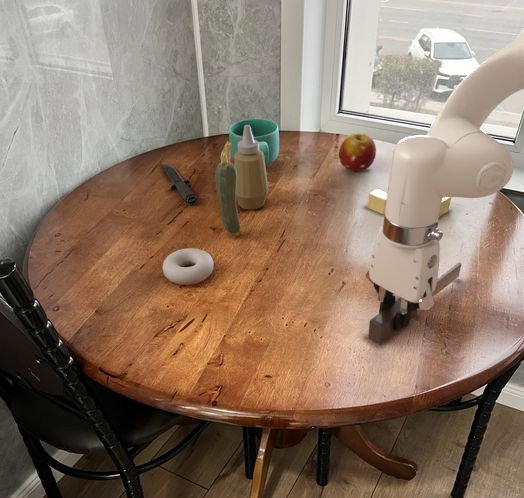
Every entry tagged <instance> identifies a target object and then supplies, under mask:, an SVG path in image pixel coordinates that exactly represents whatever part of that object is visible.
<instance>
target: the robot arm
mask: <svg viewBox="0 0 524 498" xmlns="http://www.w3.org/2000/svg"><path fill="white" fill-rule="evenodd" d="M522 90H524V27H523V28H522V29H521V31H520V32H519V33H518V34H517V36H516V37H515V38H514V39H513V40H512V41H510V42H509V43H507V45H505V46H504V47H503V48H500V49H499V50H498V51H496V52H495V53H493V54H492V55H491V56H489V57H488V58H487V59H485V60H484V61H483V62H482V63H480V64H479V65H478V66H477V67H475V68H474V69H473V70H471V71H470V73H468V74H467V75H466V76H465V77H464V78H463V79H462V80H461V81H460V82H459V83H458V84H457V85H456V87H455V88H454V89H453V91H452V92H451V94H450V95H449V96H448V98H447V99H446V101H445V103H444V104H443V105H442V107H441V108H440V110H439V111H438V113H437V115H436V117H434V119H433V121H432V123H431V125H430V127H429V129H428V131H427V134H426V135H413V136H408V137H407V136H406V137H405V138H403V139H401V140H399V141H398V142H397V143H396V145H395V146H394V148H393V151H392V154H391V163H390V169H389V178H388V186H387V191H386V193H387V200H386V208H385V214H383V224H382V225H381V226H380V228H379V230H378V232H377V234H376V238H375V240H374V244H373V246H372V251H371V256H370V262H369V268H368V270H367V272H366V274H365V278H366V279H367V280H368V281H369V283H370V284H371V285H373V289H374V290H375V291H376V294H377V300H378V301H379V309H378V314H379V313H380V312H382V311H383V310H384V309H386V308H387V307H388V306H390V305H391V304H392V303H394V302H395V301H396V300H397V299H396V297H397V296H398V297H399V298H400V297H401V304H400V310H398V311H397V312H396V318H395V324H394V330H395V331H396V332H399V331H401V330H402V329H403V328H406V327H407V326H409V324H410V322H411V320H410V317H411V312H412V311H414V310H416V309H417V310H420V311H430V310H431V309H432V308H433V307H435V302H434V296H433V297H432V293H433V292H434V291H435V288H436V284H437V279H438V278H439V277H438V276H439V270H440V257H441V248H440V247H441V246H440V241H441V240H442V239H443V236H444V232H443V231H441V230H440V229H439V228H438V226H439V218H440V217H439V212H440V207H441V202H442V198H443V197H451V198H460V199H461V198H464V199H480V198H486V197H489V196H491V195H494V194H496V193H498V192H500V191H501V190H502V189H503V188H504V187H506V186H507V185H508V183H509V182H510V181H511V179H512V177H513V173H514V170H515V164H514V158H513V156H512V154H511V152H510V151H509V150H508V149H507V148H506V146H505V145H503V144H502V143H501V142H499V141H498V140H496V139H495V138H494V137H493V136H491V135H489V133H487V132H486V131H484V130H483V129H481V127H482V126H483V124H484V123H485V122H486V120H487V119H488V117H489V116H490V115H491V114H492V112H493V111H494V110H495V109H496V108H497V107H498V106H499V105H500V104H501V103H503V102H504V101H505V100H506V99H508V98H509V97H510V96H512V95H514V94H516V93H517V92H520V91H522Z"/></svg>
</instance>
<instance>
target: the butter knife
mask: <svg viewBox="0 0 524 498" xmlns="http://www.w3.org/2000/svg"><path fill="white" fill-rule="evenodd" d="M461 269H462V262H457V263H456V264H454V265H453V266H452V267H451V268H449V269H448V270H447V271H445V272H444V273H443V274H441V275H440V276H439V277H438V278H437V284H436V288H435V291H434V292H433V293H432V297H433V298H434V297H435V296H436V295H437V294H439V293H440V292H441V291H442V290H444V289H446V287H447V286H449V285H450V284H451V283H453V282H454V281H455V280H456V279H458V278H459V277H460V273H461ZM400 304H401V297H399V298H398V299H396V301H395V302H394V303H392V304H391V305H390V306H388V307H387V308H386V309H384V310H383V311H382V312H380V313H379V312H378V314H377V315H375V316H373V318H371V319H369V325H368V336H367V338H368V339H369V340H371V341H372V342H374V343H376V344H377V345H380V346H381V344H383V343H384V342H385V341H386V340H388V339H389V338H390V337H391V336H392V335H394V334H395V333H397V331H395V330H394V324H395V318H396V312H397V311H398V310H400ZM417 315H418V309H416V310H414V311H412V312H411V317H410V321H412V320H413V319H414V318H415V317H417Z"/></svg>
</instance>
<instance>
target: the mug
mask: <svg viewBox="0 0 524 498" xmlns="http://www.w3.org/2000/svg"><path fill="white" fill-rule="evenodd" d="M245 125H250V128H251V132H252V135H253V139H254V140H257V141H258V142H259V150H260V151H262V152H263V154H264V160H265V167H268V166H270V165H271V164H273V163H275V161H276V160H277V158H278V156H279V154H280V134H279V133H280V132H279V131H280V130H279V129H280V128H279V125H278V123H277V122H275V121H273V120H271V119H266V118H247V119H241V120H238V121H236V122H234V123H232V124H231V125H229V128H228V137H229V142H231V143H232V147H231V148H230V149H231V158H232V159H233V161H234V155H235V153H236V152H237V151H238V142H239V141H241V140H242V139H243V132H244V126H245Z"/></svg>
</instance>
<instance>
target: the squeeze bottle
mask: <svg viewBox="0 0 524 498" xmlns="http://www.w3.org/2000/svg"><path fill="white" fill-rule="evenodd" d="M233 164H234V165H235V167H236V171H237V182H236V192H235V199H236V200H237V203H238V205H239V207H240V208H242V209H245V210H250V211H251V210H257V209H260V208H262V207H263V206H264V204H265V202H266V199H267V196H268V193H269V182H268V175H267V169H266V167H267V166H266V167H265V160H264V154H263V152H262V151H260V150H259V142H258V141H257V140H254V139H253V135H252V132H251V128H250V125H245V126H244V132H243V139H242V140H241V141H239V142H238V151H237V152H236V153H235V155H234V160H233Z"/></svg>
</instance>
